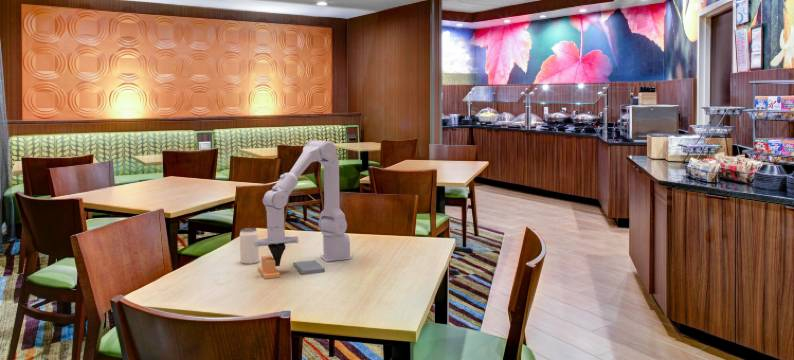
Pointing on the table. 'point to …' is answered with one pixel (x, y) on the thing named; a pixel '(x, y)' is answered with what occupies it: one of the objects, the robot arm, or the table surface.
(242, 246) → the can
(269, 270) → the stub
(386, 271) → the table surface
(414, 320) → the table surface
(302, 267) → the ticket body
